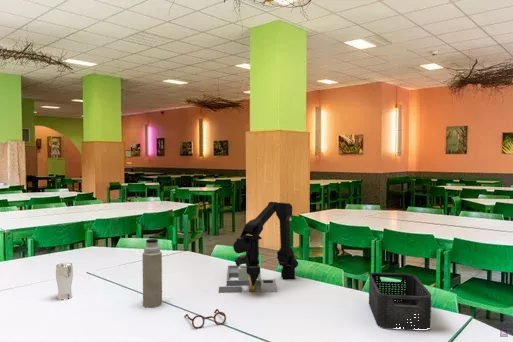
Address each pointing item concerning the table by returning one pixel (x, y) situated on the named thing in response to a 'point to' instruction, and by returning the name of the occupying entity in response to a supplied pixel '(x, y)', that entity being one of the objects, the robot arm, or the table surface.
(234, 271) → the case
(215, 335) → the table surface
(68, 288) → the beer glass
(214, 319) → the glasses
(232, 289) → the mat
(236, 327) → the table surface
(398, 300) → the storage bin
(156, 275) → the thermos bottle
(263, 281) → the grey square socket block
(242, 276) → the module
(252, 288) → the rod
